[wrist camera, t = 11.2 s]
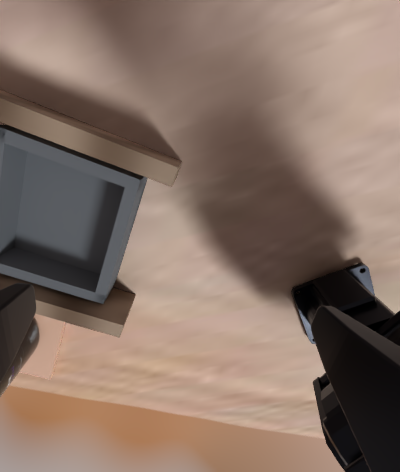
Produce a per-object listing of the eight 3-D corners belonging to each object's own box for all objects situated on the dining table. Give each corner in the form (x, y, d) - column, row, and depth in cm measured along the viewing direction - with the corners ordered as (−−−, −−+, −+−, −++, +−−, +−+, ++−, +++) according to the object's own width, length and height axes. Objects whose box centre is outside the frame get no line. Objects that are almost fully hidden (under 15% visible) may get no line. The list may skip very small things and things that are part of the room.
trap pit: (148, 173, 19) (140, 180, 16) (115, 283, 22) (103, 304, 20) (23, 125, 18) (-9, 124, 15) (7, 249, 21) (-22, 266, 18)
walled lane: (182, 161, 19) (178, 167, 15) (131, 305, 23) (119, 337, 20) (-140, 34, 16) (-243, 3, 12) (-126, 226, 20) (-199, 246, 17)
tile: (72, 296, 23) (69, 300, 22) (53, 374, 26) (49, 379, 26) (-48, 260, 22) (-55, 263, 21) (-52, 347, 25) (-58, 352, 24)
